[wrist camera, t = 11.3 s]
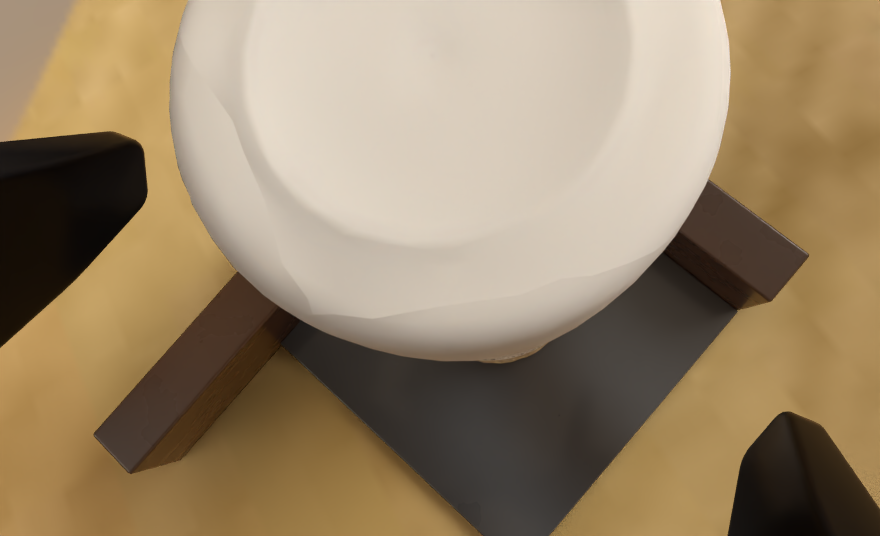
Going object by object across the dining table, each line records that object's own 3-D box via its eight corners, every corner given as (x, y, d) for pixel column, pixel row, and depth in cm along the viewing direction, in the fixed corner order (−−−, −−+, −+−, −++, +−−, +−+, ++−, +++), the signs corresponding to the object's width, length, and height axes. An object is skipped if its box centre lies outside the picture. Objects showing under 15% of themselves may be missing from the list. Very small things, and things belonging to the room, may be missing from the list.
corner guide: (408, 699, 17) (390, 756, 14) (145, 426, 19) (90, 434, 16) (769, 270, 18) (811, 254, 15) (479, 49, 19) (473, 3, 17)
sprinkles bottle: (587, 219, 18) (791, -194, 5) (559, 381, 17) (703, 420, 4) (429, 193, 19) (221, -234, 5) (397, 348, 18) (77, 293, 5)
